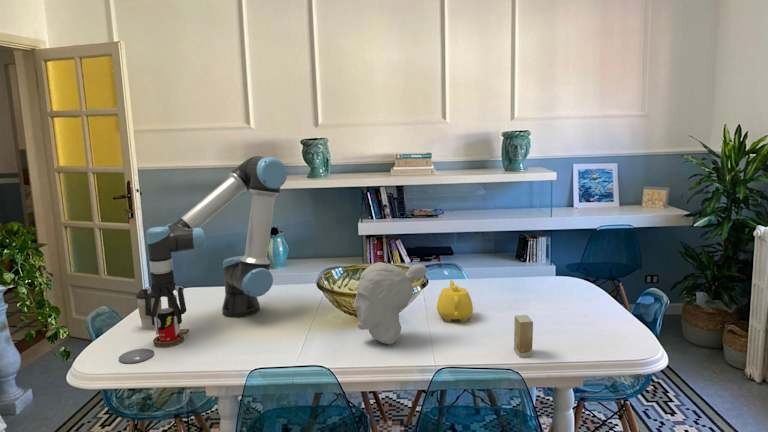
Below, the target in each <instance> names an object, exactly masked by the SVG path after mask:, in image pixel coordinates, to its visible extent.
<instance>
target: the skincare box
mask: <svg viewBox="0 0 768 432" xmlns="http://www.w3.org/2000/svg"><path fill="white" fill-rule="evenodd" d="M513 328H514V333H513V334H514V335H513V336H514V337H513V351H514V352H515V353H516V355H517V356H518V357H519V358H532V357H533V340H534V339H533V336H534V335H533V333H534V321H533V320H532V319H531V317H529V315H528V314H522V315H518V314H517V315H514V327H513Z"/></svg>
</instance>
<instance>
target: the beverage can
mask: <svg viewBox="0 0 768 432" xmlns="http://www.w3.org/2000/svg"><path fill="white" fill-rule="evenodd" d="M175 315H176V313H175V312H174V309H173V308H168V307H165V308H161V310H159V311H158V315H157V322H158V331H159V334H158V336H159V342H170V341H174V340H177V339H179V338H178V334H176V330H175V320H174V316H175Z"/></svg>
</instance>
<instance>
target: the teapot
mask: <svg viewBox="0 0 768 432" xmlns="http://www.w3.org/2000/svg"><path fill="white" fill-rule="evenodd" d="M436 304H437V305H436V310H437V313H438V315H439V317H441V318H442V319H444V322H445V323H450V322H452V320H460V322H461V323H464V322H465V323H466V322H467V321H468V319H469V318H470V317H471V316H472V315H473V311H474V306H473V302H472V299H471V296H470V294H469V292H468V290H467V289H466V288H465V287H459V286H458V285H455V282H454V280H453V279H451V280H450V281H449V287H444V288H442V289H441V291H440V293H439V296H438V299H437V303H436Z"/></svg>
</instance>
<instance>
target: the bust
mask: <svg viewBox="0 0 768 432" xmlns="http://www.w3.org/2000/svg"><path fill="white" fill-rule="evenodd" d="M426 274H427V267H426V266H425V265H423V264H419V263H416V264H413V265H411V266H410V267H409V268H408V270H407V271H406V272H405V271H404V270H403V269H401V268H400V267H398V266H396V265H395V264H391V263H386V262H383V261H381V262H378V261H377V262H375V263H373V264H371V265H369V266H367V267H366V268H365V269H364V270H363V271H362V272H361V274H360V278H359V280H358V283H357V288H356V295H355V300H354V302H353V304H352V306H353V308H354V309H355V310H356V315H357V319H358V321H357V328H358V329H360V330H368V333H369V335H371V337H372V339H373V340H376V341H378V342H380V343H381V344H384V345H385V344H386V345H392V344H394V343H395V342H397V340H398V339H399V338H400V335H401V332H402V325H401V323H400V314H399V313H400V311H401V309H402V308H404V307H405V306H406V305H407V304H408V302H409V301H410V300H411V298H412V296H413V293H414V287H413V283H412V282H414V281H419V280H422V279H423V278H425V276H426Z"/></svg>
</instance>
